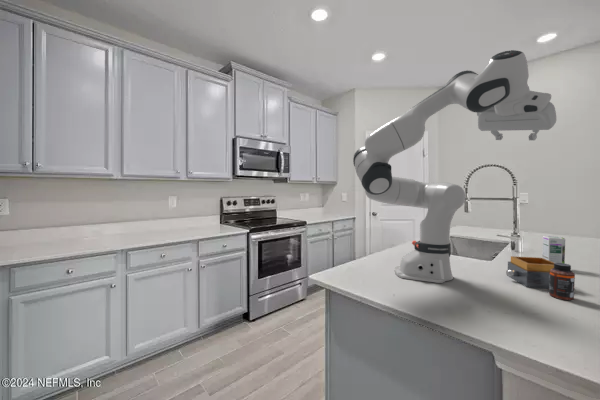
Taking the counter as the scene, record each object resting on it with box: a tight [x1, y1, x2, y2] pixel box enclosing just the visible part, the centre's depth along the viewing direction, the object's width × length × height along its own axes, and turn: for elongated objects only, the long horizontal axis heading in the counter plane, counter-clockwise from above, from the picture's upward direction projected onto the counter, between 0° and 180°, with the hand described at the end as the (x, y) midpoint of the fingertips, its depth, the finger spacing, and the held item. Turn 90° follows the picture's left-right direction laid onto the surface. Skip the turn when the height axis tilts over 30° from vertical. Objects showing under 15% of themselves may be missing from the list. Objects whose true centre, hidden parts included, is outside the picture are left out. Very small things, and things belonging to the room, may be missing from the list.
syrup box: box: [541, 235, 566, 264], centre depth 118 cm, size 6×6×14 cm
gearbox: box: [505, 255, 554, 290], centre depth 101 cm, size 15×13×8 cm
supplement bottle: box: [548, 263, 576, 301], centre depth 87 cm, size 6×6×11 cm
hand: (515, 139), depth 89 cm, fingers open, 8 cm apart
